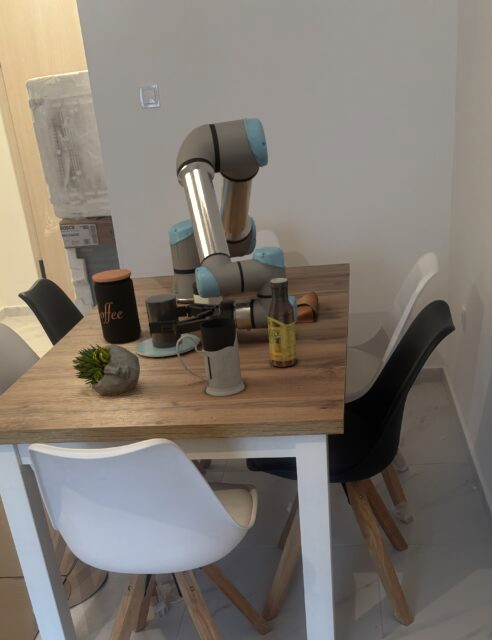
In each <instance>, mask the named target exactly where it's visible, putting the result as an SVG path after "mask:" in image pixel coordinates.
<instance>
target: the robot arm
mask: <svg viewBox="0 0 492 640" xmlns="http://www.w3.org/2000/svg"><path fill="white" fill-rule="evenodd" d="M267 165H269V153H268V146H267V139H266V135H265V129H264V126H263V123H262V121H261V120H260V119H259V118H257V117H256V118H255V117H254V118H241V119H234V120H229V121H223V122H215V123H206V124H202V125H198V126H196V127H195V128H194V129H192V130H191V131H190V132H189V133H187V135H186V137H184V139H183V141H182V143H181V144H180V147H179V149H178V151H177V156H176V162H175V172H176V177H177V182H178V185H180V186H181V187H182V188H183V189H184V195H185V200H186V204H187V205H186V206H187V209H188V214H189V219H185V220H182V221H179V222H177V223H175V224H173V225H171V226H170V228H169V229H168V241H169V242H168V245H169V247H170V254H171V255H170V256H171V261H172V269H173V279H172V287H171V292H170V294H173V295H175V296H176V300H177V304H178V303H179V304H187V305H177V307H178V314H179V318H184V319H182V320H179V321H178V322H176V320H173V321H164V322H149V321H148V323H147V324H148V329H149V335H151V334H155V333H171V332H174V333H175V335H180V334H191V333H195V332H201V328H200V324H201V323H202V322H205V321H207V320H211V319H216V318H230V319H233V320H234V321H235V330H237V329H238V330H239V331H242V330H243V331H244V330H246V331H247V332H250V331H251V330H253V329H254V330H256V329H268V312H269V308H270V304H271V300H272V293H271V287H270V281H271V280H272V279H275V278H286V279H287V273H286V268H287V267H286V263H285V262H286V261H285V255H284V251H283V249H282V248H280V247H278V246H263V247H260V248H256V245H257V228H256V223H255V220H254V217H252V216H251V215H249V209H250V202H251V195H252V186H253V179H254V178H255V177H256V176H257V175H258V173H259V171H260V168H264V167H265V166H267ZM216 174H220V176H221V183H220V200H219V203H218V199H217V195H216V194H217V193H216V190H215V187H214V182H213V180H214V179H215V175H216ZM249 255H252V258H250V259H243V260H237V261H232V258H233V259H234V258H241V257H242V258H243V257H245V256H249ZM194 282H196V284H197V290H198V294H199V296H200V297H202V298H214V297H219V296H222V297H224V296H231V295H236V294H244V293H250V292H256V298H239V299H236V301H235V300H234V299H229V300H227V299H225V300H223V301H221V302H220V304H217V305H213V304H200V303H195V302H194V294H193V289H192V284H193V283H194ZM288 300H289V302H290V303H291V305H292V306H293V309H294V320H295V325H296V324H297V323H296V321H297V304H296V301H297V298H296V296H294V295H289V294H288ZM185 318H186V319H185ZM179 327H180V329H179Z"/></svg>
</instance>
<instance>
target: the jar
mask: <svg viewBox="0 0 492 640" xmlns="http://www.w3.org/2000/svg"><path fill="white" fill-rule="evenodd" d="M192 289H193V294H194V303H200V304H213V305H217V304H220V302H221V301H224V299H223V296H219V297H214V298H202V297H200V296H199V294H198V290H197V284H196V282H194V283H193V284H192Z"/></svg>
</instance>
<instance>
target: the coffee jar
mask: <svg viewBox="0 0 492 640" xmlns="http://www.w3.org/2000/svg"><path fill="white" fill-rule="evenodd" d="M131 276H132V270H130V269H127V268H126V269H125V268H116V269H109V270H104V271H101V272H98V273H95V274H93V275H92V276H91V279H92V281H93V282H94V285H93V291H94V296H95V301H96V306H97V311H98V315H99V316H98V317H99V320H100V321H99V322H100V326H101V332H102V336H103V339H104V341H106V342H107V344H110V345H121V344H127V343H131V342H134V341H136V340H138V339H139V338H140V336H141V335H142V327H141V322H140V317H139V310H138V304H137V299H136V293H135V286H134V282H133V279H132V278H131Z"/></svg>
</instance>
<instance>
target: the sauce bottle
mask: <svg viewBox="0 0 492 640" xmlns="http://www.w3.org/2000/svg"><path fill="white" fill-rule="evenodd" d="M270 287H271V293H272V300H271V304H270V308H269V312H268V328H267V331H268V345H269V347H268V348H269V359H270V362H271V365H272V366H274V367H278V368H286V367H287V368H288V367H290V366H293V365H295V364H296V362H297V341H296V337H297V336H296V324H295V320H294V309H293V306H292V305H291V303H290V302H289V300H288V295H289V290H288V289H289V288H288V287H289V279H288V278H287V277H286V278H275V279H272V280H271V281H270Z"/></svg>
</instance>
